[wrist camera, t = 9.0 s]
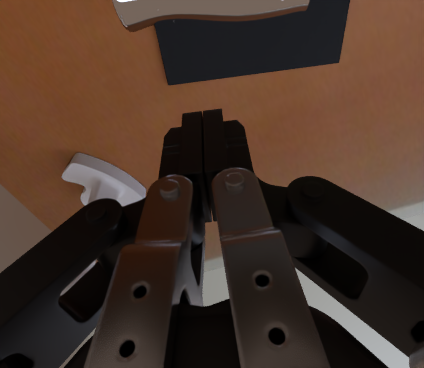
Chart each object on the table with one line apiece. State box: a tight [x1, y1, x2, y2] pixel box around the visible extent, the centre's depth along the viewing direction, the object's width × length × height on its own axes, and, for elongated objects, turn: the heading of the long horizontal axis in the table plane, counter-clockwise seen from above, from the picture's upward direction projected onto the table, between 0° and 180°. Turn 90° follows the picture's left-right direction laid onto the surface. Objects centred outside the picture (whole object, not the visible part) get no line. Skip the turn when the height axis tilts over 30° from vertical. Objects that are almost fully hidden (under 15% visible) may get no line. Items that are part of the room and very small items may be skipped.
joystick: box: [60, 153, 146, 296], centre depth 36 cm, size 11×8×20 cm
